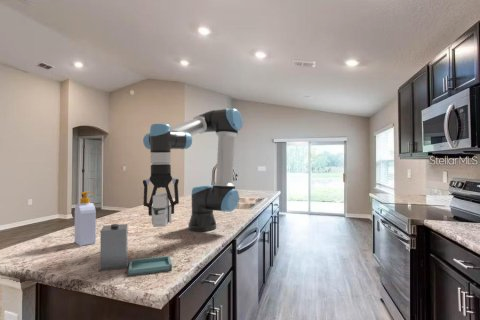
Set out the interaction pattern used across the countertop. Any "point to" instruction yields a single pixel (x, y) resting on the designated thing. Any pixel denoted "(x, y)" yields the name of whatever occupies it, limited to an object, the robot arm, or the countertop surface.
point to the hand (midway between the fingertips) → (161, 222)
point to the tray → (150, 265)
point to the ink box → (160, 210)
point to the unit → (114, 247)
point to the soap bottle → (85, 221)
